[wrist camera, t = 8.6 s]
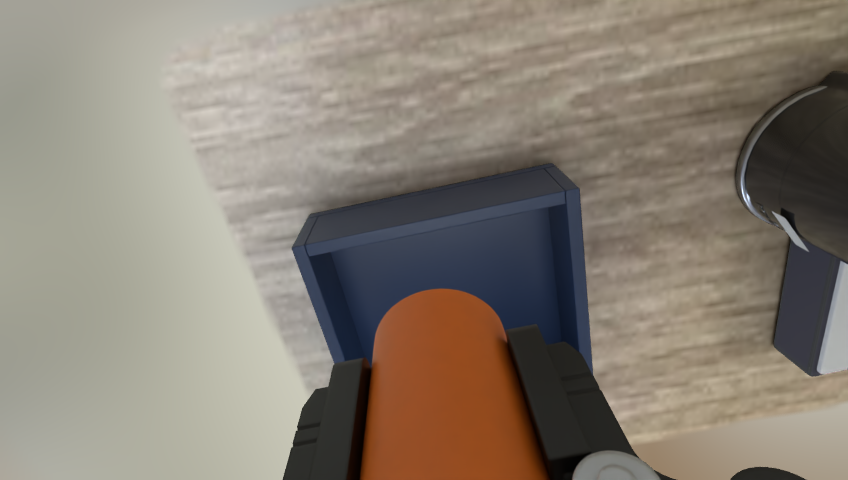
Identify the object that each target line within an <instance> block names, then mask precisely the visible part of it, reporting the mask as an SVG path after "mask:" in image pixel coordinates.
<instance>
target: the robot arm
mask: <svg viewBox="0 0 848 480" xmlns="http://www.w3.org/2000/svg"><path fill="white" fill-rule="evenodd" d="M736 183H737V190H738V193H739V196H740V198H741V201H742V202H743V204H744V205H745V207H746V208H747V209H748V210H749V211H750V212H751V213H752V214H753V215H755V216H756V217H758V218H760V219H762V220H763V221H765V222H767V223H770V224H772V225H774V226H776V227H778V228H780V229H782V230H784V231H786V232H787V233H788V235H789V236H790V238H791V239H792V240H793V242H794V243H795V244H796V245H798V246H799V247H801V248H803V249H805V250H806V251H808V250H807V248H806V247H805V245H804V244H803V243H802V241H801V240H800V239H802V240H803V241H805V242H807V243H809V244H811V245H813V246H814V247H816V248H818V249H820V250H822V251H824V252H826V253H827V254H829V255H831V256H833V257H835V258H837V259H838V260H840V261H842V262H844V263H846V264H848V72H841V71H833V72H831V73H830V74H829V75H828V76H827V77H826V79H825V80H824V81H823V82H822V83H820V84H819V85H818V86H814V87H811V88H808V89H805V90H803V91H801V92H798V93H796V94H794V95H792V96H791V97H789V98H787V99H786V100H784V101H783V102H781V103H780V104H779V105H777V106H776V107H775V108H774V109H772V110H771V111H770V112H769V113H768V114H767V115H766V116H765V117H764V118H763V119H762V120H761V121H760V122H759V124H758V125H757V126H756V127H755V129H754V130H753V131H752V133H751V134H750V136H749V138H748V139H747V141H746V143H745V145H744V147H743V149H742V152H741V155H740V158H739V161H738V166H737V173H736ZM808 252H809V251H808ZM506 338H507V344H508V347H509V350H510V354H511V357H512V360H513V363H514V366H515V369H516V373H517V376H518V379H519V382H520V385H521V389H522V392H523V395H524V398H525V401H526V405H527V408H528V411H529V414H530V417H531V421H532V424H533V427H534V430H535V433H536V437H537V440H538V443H539V446H540V449H541V453H542V456H543V459H544V462H545V465H546V469H547V472H548V475H549V478H550V480H676V479H672V478H670V477H667V476H664V475H662V474H660V473H659V472H657V471H655V470H653V469H652V468H651V467H650V466H649V465H648V464H646V463H645V462H644V461H642V460H641V459H640V458H639V457H638V456H637V455H636V454H635V452H634V451H633V449H632V448H631V446H630V444H629V442H628V440H627V438H626V436H625V435H624V433H623V431H622V429H621V427H620V425H619V423H618V421H617V420H616V418H615V416H614V414H613V412H612V410H611V408H610V406H609V404H608V403H607V401H606V399H605V397H604V395H603V393H602V391H601V390H600V389H599V386H598V384H597V382H596V380H595V378H594V376H593V375H592V373H591V370H590V369H589V367H588V365H587V363H586V361H585V359H584V357H583V355H582V354H581V353H580V352H578V351H577V350H576V349H574V348H573V347H572V346H570V345H569V344H568V343H566V342H565V341H564V342H559V343H553V344H548V345H546V344H545V341H544V339H543V337H542V334H541V332H540V330H539V328H538V326H537V324H533V325H528V326H523V327H518V328H513V329H507V330H506ZM370 377H371V367H370V365H369V362H368V360H367V359H366V358H365V357H364V358H359V359H354V360H349V361H344V362H339V363H335V364H334V366H333V369H332V373H331V378H330V382H329V387H325V388H320V389H316V390H315V391H314V392H313V394H312V395H311V397H310V398H309V399H308V401H307V402H306V404H305V405H304V407H303V408H302V412H301V416H300V419H299V422H298V426H297V428H298V431H296V434H295V437H294V440H293V447H292V448H291V451H290V455H289V459H288V463H287V466H286V469H285V473H284V477H283V480H359V479H360V470H361V460H362V451H363V442H364V432H365V423H366V414H367V405H368V395H369V386H370ZM731 480H805V479H804V478H802V477H800V476H798V475H795V474H793V473H790V472H787V471H784V470H780V469H776V468H768V467H754V468H748V469H745V470H742V471H740V472H738V473H737V474H735V475H734V476H733V477H732V478H731Z"/></svg>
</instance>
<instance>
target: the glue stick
mask: <svg viewBox="0 0 848 480" xmlns="http://www.w3.org/2000/svg"><path fill="white" fill-rule="evenodd" d="M359 480H550V478H549V475H548V472H547V469H546V465H545V462H544V459H543V456H542V453H541V449H540V446H539V443H538V440H537V437H536V433H535V430H534V427H533V424H532V421H531V417H530V414H529V411H528V408H527V405H526V401H525V398H524V395H523V392H522V389H521V385H520V382H519V379H518V376H517V373H516V369H515V366H514V363H513V360H512V357H511V354H510V350H509V347H508V344H507V338H506V334H505V331H504V328H503V325H502V322H501V320H500V318H499V317H498V315H497V314H496V313H495V311H494V310H493V309H492V308H491V307H490V306H489V305H488V304H486V303H485V302H484V301H483V300H481V299H479V298H477V297H476V296H474V295H471V294H469V293H466V292H463V291H459V290H453V289H431V290H425V291H421V292H418V293H415V294H412V295H410V296H408V297H406V298H404V299H403V300H401V301H399V302H398V303H397V304H396V305H394V306H393V307H392V308H391V309H390V310H389V311H388V312H387V313H386V314H385V316H384V317H383V318H382V320H381V322H380V324H379V326H378V328H377V331H376V334H375V340H374V349H373V358H372V368H371V377H370V386H369V395H368V405H367V414H366V423H365V432H364V442H363V451H362V460H361V470H360V479H359Z"/></svg>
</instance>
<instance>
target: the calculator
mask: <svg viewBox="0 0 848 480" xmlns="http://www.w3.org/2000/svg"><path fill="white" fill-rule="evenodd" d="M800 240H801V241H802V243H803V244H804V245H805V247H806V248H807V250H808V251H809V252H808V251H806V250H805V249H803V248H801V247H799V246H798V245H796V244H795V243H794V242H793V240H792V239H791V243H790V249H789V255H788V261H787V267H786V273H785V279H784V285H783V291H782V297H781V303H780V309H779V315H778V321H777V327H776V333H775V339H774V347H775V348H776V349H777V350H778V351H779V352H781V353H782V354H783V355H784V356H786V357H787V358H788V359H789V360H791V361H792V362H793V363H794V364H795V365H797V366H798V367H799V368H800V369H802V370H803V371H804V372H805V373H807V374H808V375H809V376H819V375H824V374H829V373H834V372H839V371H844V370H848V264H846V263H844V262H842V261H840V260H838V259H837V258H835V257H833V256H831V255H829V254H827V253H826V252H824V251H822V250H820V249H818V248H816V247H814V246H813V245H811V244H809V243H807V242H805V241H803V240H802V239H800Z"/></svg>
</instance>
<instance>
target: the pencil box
mask: <svg viewBox="0 0 848 480" xmlns="http://www.w3.org/2000/svg"><path fill="white" fill-rule="evenodd" d="M292 250H293V253H294V256H295V259H296V261H297V264H298V267H299V269H300V272H301V275H302V277H303V280H304V283H305V285H306V288H307V291H308V294H309V296H310V299H311V302H312V304H313V307H314V310H315V312H316V315H317V318H318V321H319V323H320V326H321V329H322V331H323V334H324V337H325V339H326V342H327V345H328V347H329V350H330V353H331V356H332V358H333V361H334V364H335V363H339V362H344V361H349V360H354V359H359V358H364V357H365V358H366V359H367V360H368V362H369V365H370V367H371V368H372V358H373V349H374V340H375V334H376V331H377V328H378V326H379V324H380V322H381V320H382V318H383V317H384V316H385V314H386V313H387V312H388V311H389V310H390V309H391V308H392V307H393V306H394V305H396V304H397V303H398V302H399V301H401V300H403V299H404V298H406V297H408V296H410V295H412V294H415V293H418V292H421V291H425V290H431V289H453V290H459V291H463V292H466V293H469V294H471V295H474V296H476V297H477V298H479V299H481V300H483V301H484V302H485V303H486V304H488V305H489V306H490V307H491V308H492V309H493V310H494V311H495V313H496V314H497V315H498V317H499V318H500V320H501V322H502V325H503V328H504V331H505V334H506V330H507V329H513V328H518V327H523V326H528V325H533V324H537V326H538V328H539V330H540V332H541V334H542V337H543V339H544V341H545V344H546V345H548V344H553V343H559V342H564V341H565V342H566V343H568V344H569V345H570V346H572V347H573V348H574V349H576V350H577V351H578V352H580V353H581V354H582V355H583V357H584V359H585V361H586V363H587V365H588V367H589V369H590V370H591V373H592V375H593V368H592V354H591V340H590V327H589V313H588V299H587V285H586V272H585V258H584V244H583V230H582V217H581V203H580V189H579V187H578V186H576V185H575V184H574V183H573V182H572V181H571V180H570V179H569V178H568V177H567V176H566V175H565V174H564V173H563V172H562V171H561V170H560V169H558V168H557V167H556V166H555V165H554V164H553V163H550V164H545V165H540V166H536V167H531V168H526V169H521V170H517V171H512V172H507V173H502V174H498V175H493V176H488V177H484V178H479V179H474V180H469V181H465V182H460V183H455V184H450V185H446V186H441V187H436V188H432V189H427V190H422V191H417V192H413V193H408V194H403V195H398V196H394V197H389V198H384V199H380V200H375V201H370V202H365V203H361V204H356V205H351V206H347V207H342V208H337V209H332V210H328V211H323V212H318V213H313V214H310V215H309V216H308V219H307V220H306V222H305V224H304V226H303V228H302V229H301V231H300V233H299V235H298V237H297V239H296V241H295V243H294V244H293V246H292Z"/></svg>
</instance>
